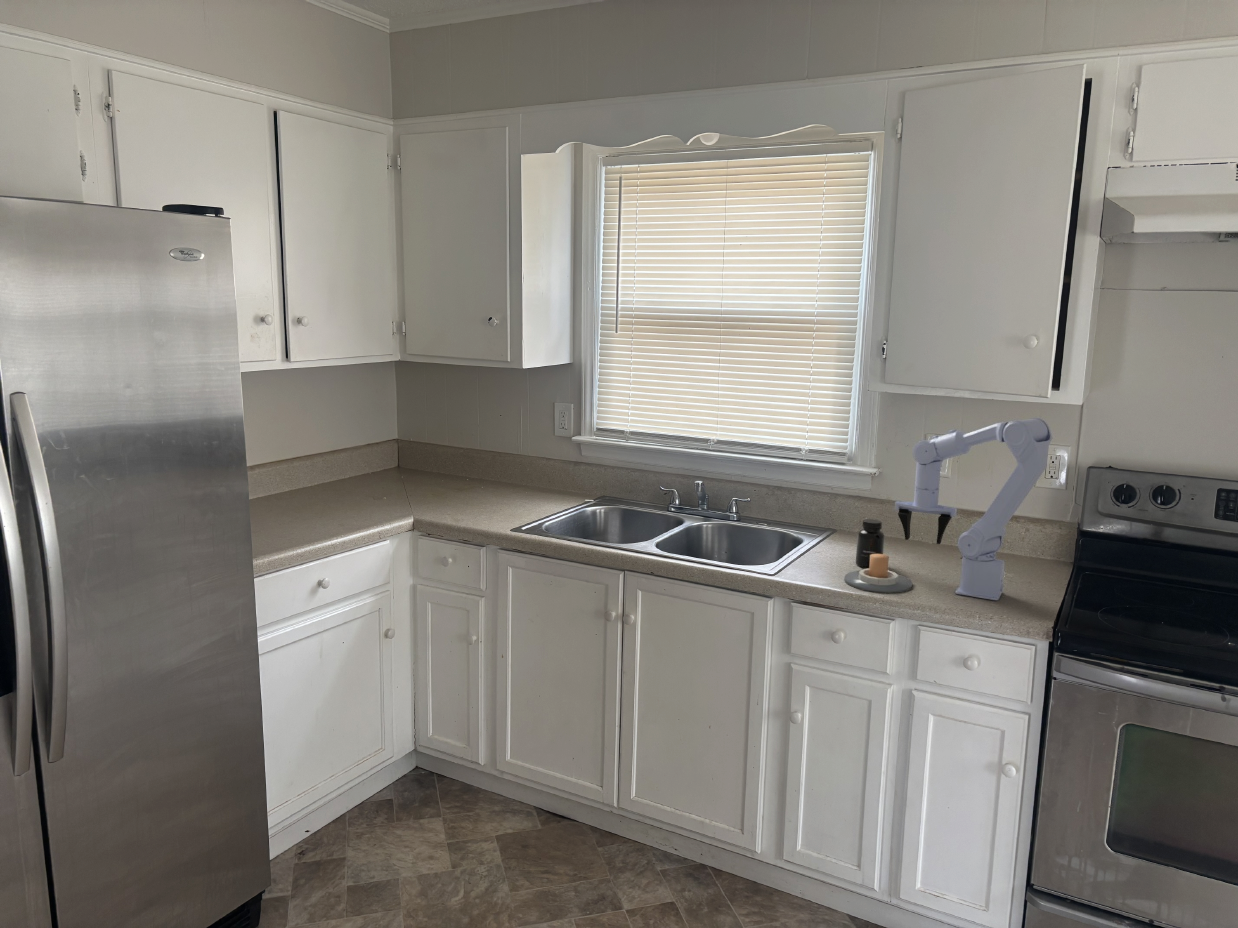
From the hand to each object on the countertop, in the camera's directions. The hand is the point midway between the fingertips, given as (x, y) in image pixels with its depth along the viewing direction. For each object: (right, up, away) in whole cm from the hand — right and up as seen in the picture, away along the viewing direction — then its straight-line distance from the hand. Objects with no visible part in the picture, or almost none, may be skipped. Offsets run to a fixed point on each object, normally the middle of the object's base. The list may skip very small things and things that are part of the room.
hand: (922, 541), depth 226 cm
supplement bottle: (-10, -8, +11) cm, 17 cm away
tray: (-12, -10, -4) cm, 16 cm away
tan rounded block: (-12, -9, -4) cm, 16 cm away
